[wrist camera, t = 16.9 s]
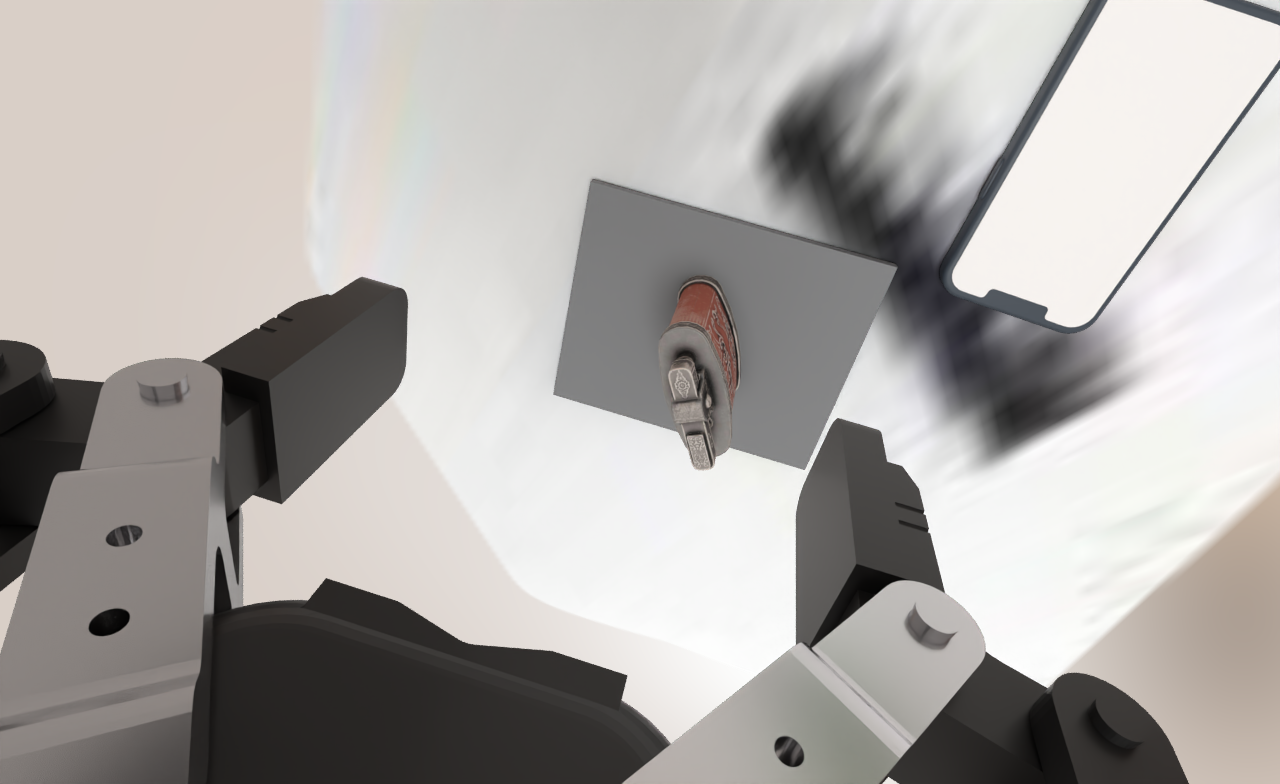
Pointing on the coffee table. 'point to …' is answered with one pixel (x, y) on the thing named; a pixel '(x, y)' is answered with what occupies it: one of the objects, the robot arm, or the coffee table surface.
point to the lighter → (701, 369)
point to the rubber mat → (761, 306)
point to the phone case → (1109, 154)
